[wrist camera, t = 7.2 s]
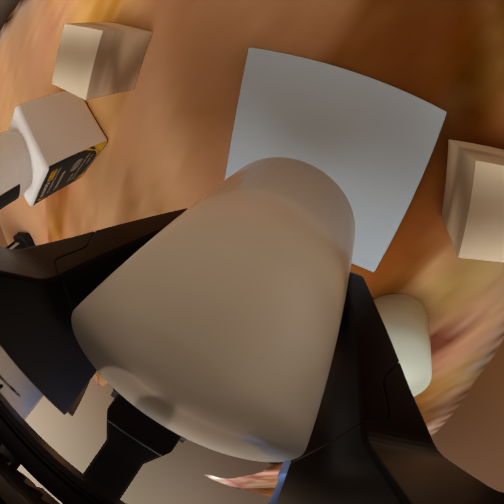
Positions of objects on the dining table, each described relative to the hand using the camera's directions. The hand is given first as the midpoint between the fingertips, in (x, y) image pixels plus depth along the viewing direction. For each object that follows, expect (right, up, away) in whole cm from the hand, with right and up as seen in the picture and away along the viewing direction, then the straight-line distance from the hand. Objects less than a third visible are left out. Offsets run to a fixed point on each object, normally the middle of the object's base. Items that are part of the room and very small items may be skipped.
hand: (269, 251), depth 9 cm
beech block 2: (+14, +4, +4) cm, 15 cm away
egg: (+1, +1, +1) cm, 2 cm away
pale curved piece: (+11, -6, +12) cm, 17 cm away
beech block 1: (-11, +16, +8) cm, 21 cm away
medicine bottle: (-18, +12, +14) cm, 25 cm away
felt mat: (+4, +6, +8) cm, 10 cm away
